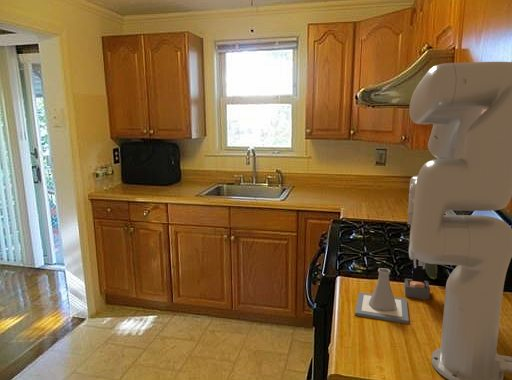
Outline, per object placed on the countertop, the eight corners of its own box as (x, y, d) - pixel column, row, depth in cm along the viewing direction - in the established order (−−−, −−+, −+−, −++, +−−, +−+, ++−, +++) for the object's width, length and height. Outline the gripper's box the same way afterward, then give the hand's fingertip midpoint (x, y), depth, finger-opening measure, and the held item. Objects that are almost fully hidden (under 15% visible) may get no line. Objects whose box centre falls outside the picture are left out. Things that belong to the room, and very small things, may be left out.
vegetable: (423, 279, 120) (428, 219, 117) (421, 275, 124) (426, 216, 121) (438, 281, 119) (443, 220, 116) (436, 276, 123) (441, 217, 120)
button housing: (427, 290, 112) (427, 281, 112) (429, 299, 106) (430, 289, 106) (404, 287, 114) (405, 278, 114) (405, 296, 108) (405, 286, 108)
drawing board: (406, 301, 105) (406, 298, 105) (408, 323, 93) (408, 320, 93) (358, 294, 110) (358, 292, 109) (354, 315, 98) (355, 312, 97)
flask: (398, 313, 97) (401, 276, 95) (369, 310, 98) (371, 274, 97) (394, 300, 104) (396, 266, 102) (367, 298, 105) (368, 264, 104)
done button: (423, 290, 112) (423, 281, 111) (424, 296, 108) (425, 287, 107) (408, 288, 113) (409, 280, 112) (409, 294, 109) (410, 285, 109)
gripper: (406, 213, 115) (403, 270, 117) (408, 223, 101) (405, 288, 103) (433, 215, 112) (429, 273, 115) (439, 225, 98) (435, 292, 101)
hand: (418, 280), depth 109 cm, fingers closed
